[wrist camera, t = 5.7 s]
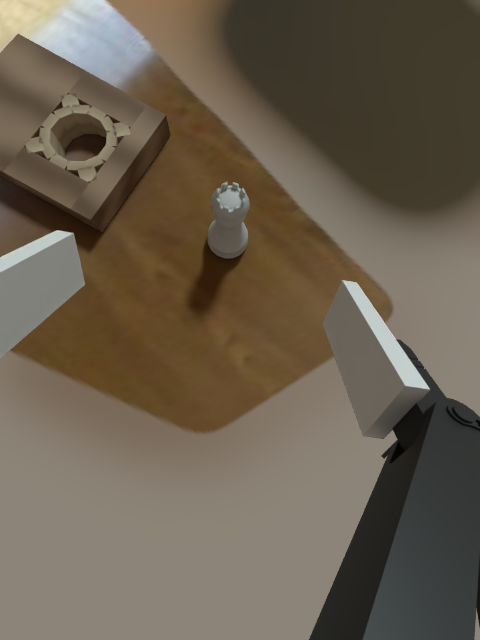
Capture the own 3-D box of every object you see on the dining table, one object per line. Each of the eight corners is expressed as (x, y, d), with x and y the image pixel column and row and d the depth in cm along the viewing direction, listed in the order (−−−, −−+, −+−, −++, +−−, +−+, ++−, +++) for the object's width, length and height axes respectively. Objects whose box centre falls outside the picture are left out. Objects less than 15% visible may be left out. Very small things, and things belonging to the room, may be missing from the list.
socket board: (102, 232, 27) (90, 220, 25) (-45, 151, 27) (-72, 130, 25) (170, 135, 30) (165, 115, 27) (34, 60, 30) (18, 33, 27)
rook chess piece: (254, 235, 29) (268, 189, 21) (234, 267, 28) (240, 232, 20) (220, 215, 29) (221, 161, 21) (199, 246, 28) (191, 203, 20)
